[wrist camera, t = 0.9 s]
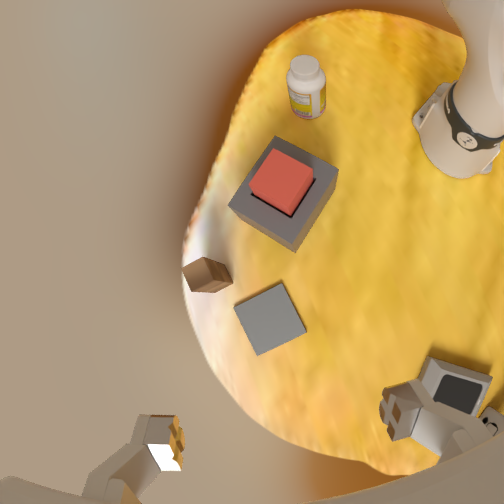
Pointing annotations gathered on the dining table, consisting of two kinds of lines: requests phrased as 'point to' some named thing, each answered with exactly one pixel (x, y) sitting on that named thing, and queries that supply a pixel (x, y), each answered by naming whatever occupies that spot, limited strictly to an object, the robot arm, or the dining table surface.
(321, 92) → the supplement bottle
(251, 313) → the pad
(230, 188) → the dining table surface
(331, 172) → the gray socket block
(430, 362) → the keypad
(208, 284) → the brown wooden block
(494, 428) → the electrical switch
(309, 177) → the button
